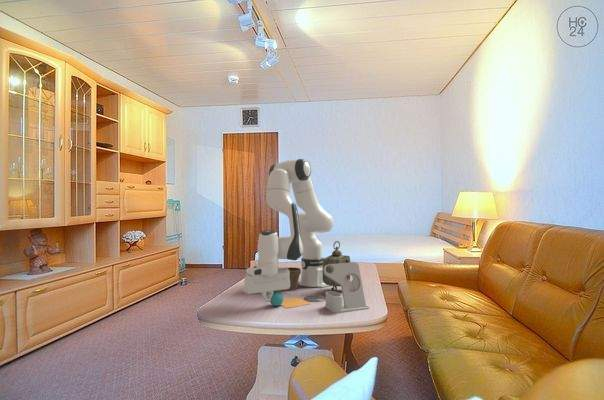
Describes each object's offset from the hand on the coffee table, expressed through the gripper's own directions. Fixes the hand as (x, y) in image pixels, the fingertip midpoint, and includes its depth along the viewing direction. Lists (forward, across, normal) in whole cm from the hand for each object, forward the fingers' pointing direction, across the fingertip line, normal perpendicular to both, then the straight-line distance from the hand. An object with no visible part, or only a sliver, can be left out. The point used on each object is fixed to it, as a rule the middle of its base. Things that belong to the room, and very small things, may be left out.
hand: (267, 301), depth 140 cm
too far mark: (+2, -24, -1) cm, 24 cm away
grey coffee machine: (+2, -29, +17) cm, 33 cm away
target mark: (+2, -12, 0) cm, 12 cm away
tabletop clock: (+1, -40, -6) cm, 40 cm away
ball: (-1, -4, 0) cm, 4 cm away
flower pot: (+2, -23, -23) cm, 32 cm away
